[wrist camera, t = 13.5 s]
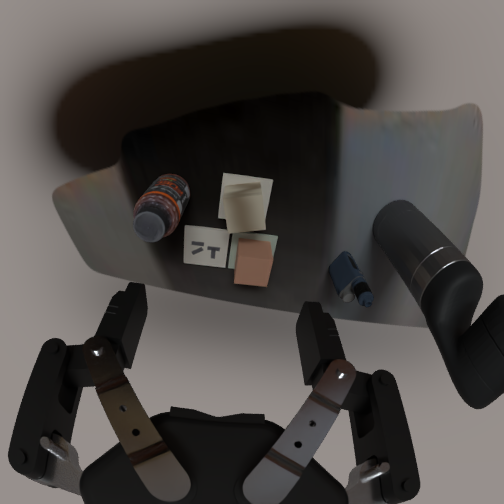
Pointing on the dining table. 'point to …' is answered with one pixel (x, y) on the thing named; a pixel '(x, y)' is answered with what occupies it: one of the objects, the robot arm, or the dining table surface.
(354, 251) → the dining table surface
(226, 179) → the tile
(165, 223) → the supplement bottle
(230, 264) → the sage pad
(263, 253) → the terracotta block
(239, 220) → the maple block
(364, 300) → the vaping device
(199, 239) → the tile
